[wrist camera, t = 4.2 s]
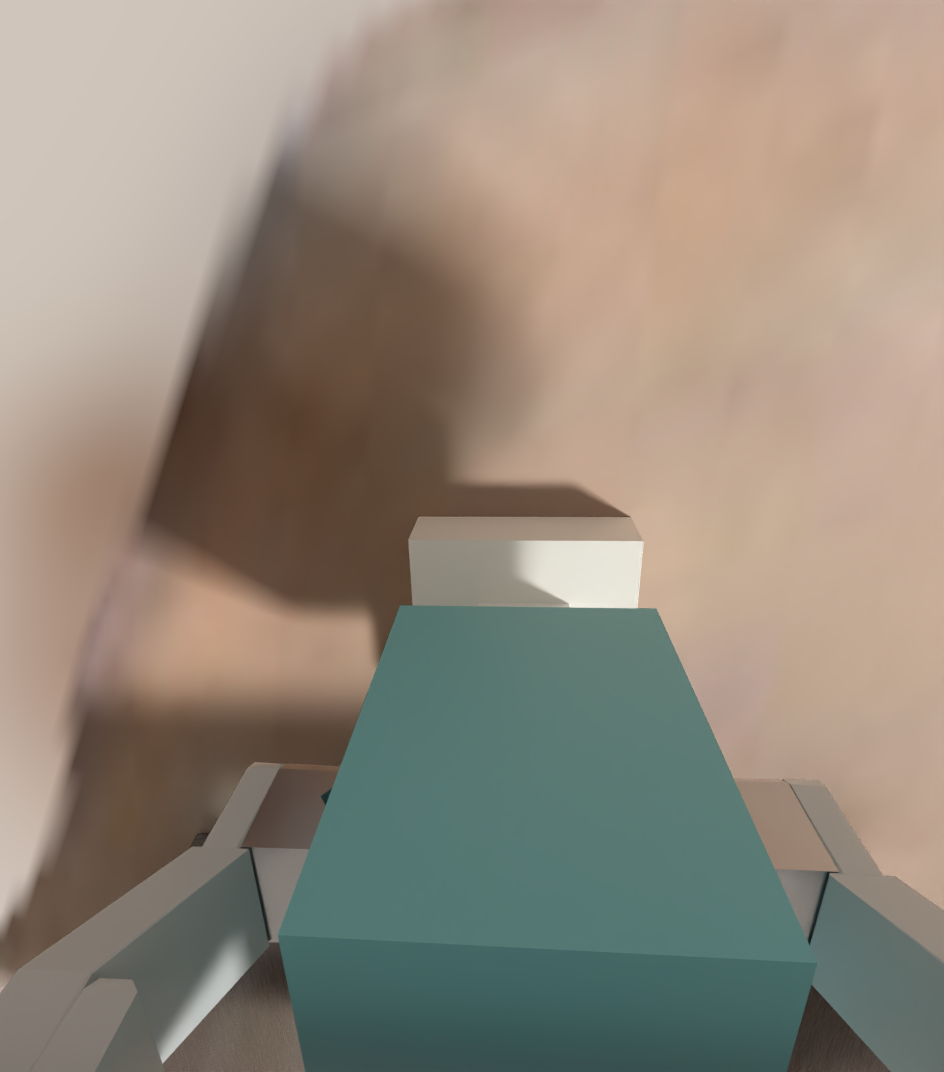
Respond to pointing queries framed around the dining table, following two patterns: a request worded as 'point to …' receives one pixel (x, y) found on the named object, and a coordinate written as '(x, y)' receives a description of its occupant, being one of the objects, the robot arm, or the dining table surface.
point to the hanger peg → (538, 836)
